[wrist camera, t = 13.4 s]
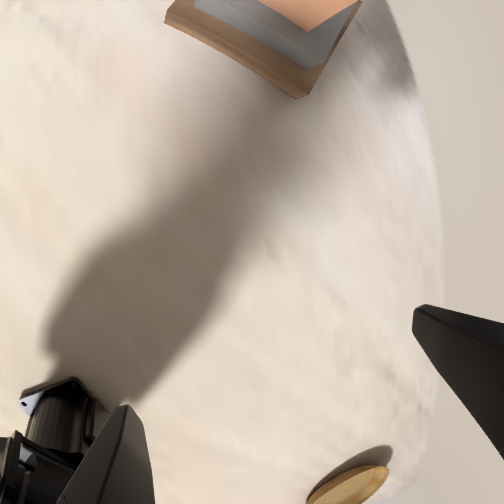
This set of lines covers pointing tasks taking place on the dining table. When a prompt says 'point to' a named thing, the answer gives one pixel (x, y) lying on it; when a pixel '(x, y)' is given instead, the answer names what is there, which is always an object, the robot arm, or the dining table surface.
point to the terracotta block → (307, 10)
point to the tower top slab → (279, 29)
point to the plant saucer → (351, 486)
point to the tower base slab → (248, 47)
